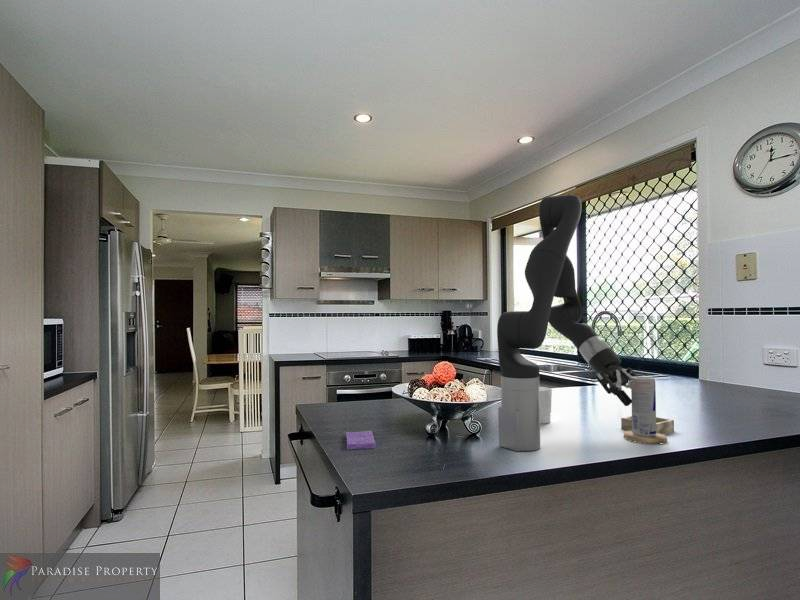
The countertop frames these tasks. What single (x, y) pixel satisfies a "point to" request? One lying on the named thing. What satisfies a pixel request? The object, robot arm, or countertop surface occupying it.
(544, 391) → the white cup
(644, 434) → the beverage can
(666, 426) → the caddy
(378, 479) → the countertop surface
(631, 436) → the disc
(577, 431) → the countertop surface
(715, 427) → the countertop surface
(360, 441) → the sponges
